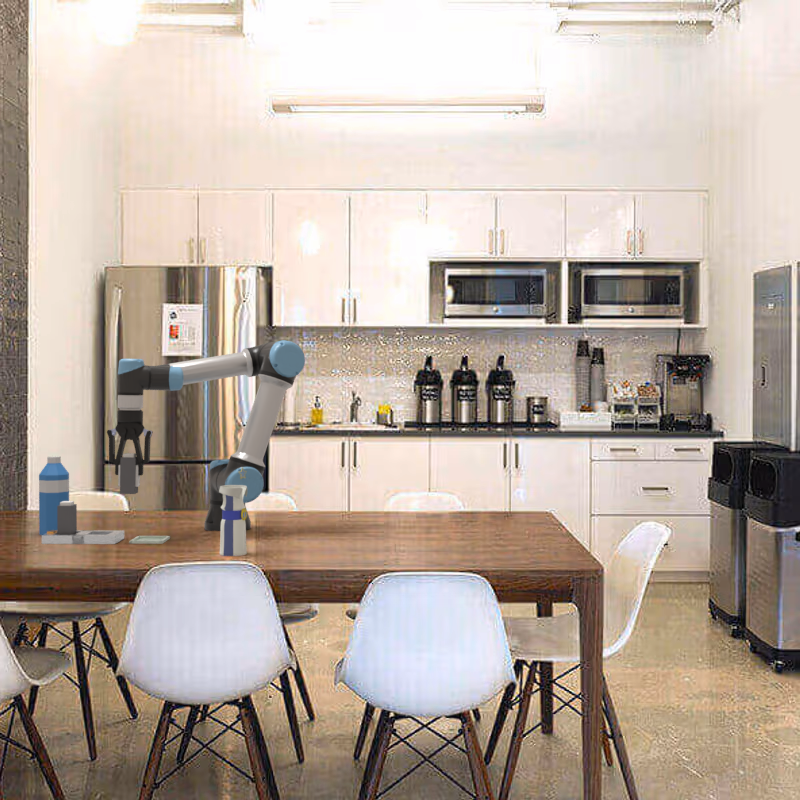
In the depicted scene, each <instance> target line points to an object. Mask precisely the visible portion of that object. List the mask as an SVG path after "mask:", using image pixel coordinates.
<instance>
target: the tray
mask: <svg viewBox="0 0 800 800" xmlns="http://www.w3.org/2000/svg"><path fill="white" fill-rule="evenodd" d="M170 539H171V535H137V536H135V537H133V538H132V539H130V540H128V541H129V542H128V544H133V545H135V544H137V545H139V544H145V545H148V544H149V545H150V544H153V545H154V544H156V545H157V544H158V545H159V544H164V543H166V542H167V541H168V540H170Z"/></svg>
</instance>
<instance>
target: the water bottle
mask: <svg viewBox="0 0 800 800" xmlns="http://www.w3.org/2000/svg"><path fill="white" fill-rule="evenodd" d="M46 461H47V462H46V464H45V465H44V467H43V468H42V469H41V472H40V473H39V475H38V498H39V499H38V506H39V507H38V509H39V511H38V517H39V520H38V521H39V522H38V524H39V528H38V529H39V530H38V532H39V536H42V535H44V534H46V533H47V531H50V530H57V506H58V505H60V502H62V501H70V473H69V472H68V470H67V468H65V466H64V465H63V464H62V459H61V456H59V455H57V456H56V455H55V456H53V455H52V456H47V460H46Z"/></svg>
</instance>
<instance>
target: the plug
mask: <svg viewBox="0 0 800 800" xmlns="http://www.w3.org/2000/svg"><path fill="white" fill-rule="evenodd" d="M136 465H138V461H137V456H136V452H135V453H134V452H133V453H129V452H128V453H123V456H122V457H120V486H119V495H136V494H138V493H139V486H138V487H135V478H136Z"/></svg>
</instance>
